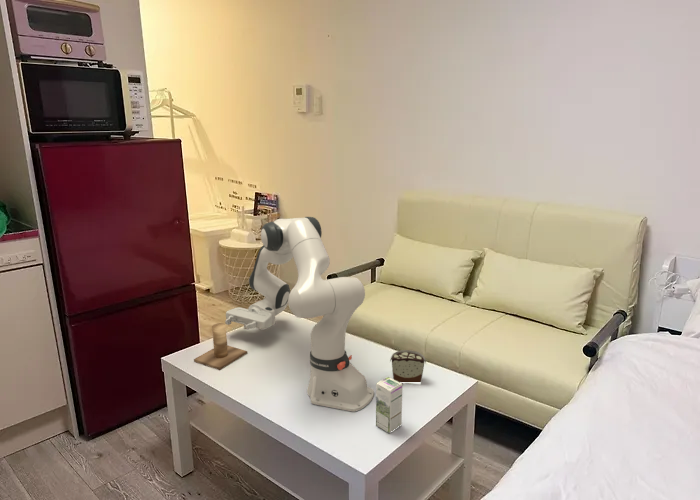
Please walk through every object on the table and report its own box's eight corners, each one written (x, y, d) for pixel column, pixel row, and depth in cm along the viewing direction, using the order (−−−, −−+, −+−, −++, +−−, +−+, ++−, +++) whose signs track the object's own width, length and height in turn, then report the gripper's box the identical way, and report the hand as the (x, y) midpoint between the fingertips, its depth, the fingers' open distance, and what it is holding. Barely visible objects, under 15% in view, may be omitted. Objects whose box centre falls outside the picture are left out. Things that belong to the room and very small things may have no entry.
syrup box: (402, 426, 151) (403, 382, 147) (389, 434, 147) (390, 390, 143) (387, 418, 155) (389, 375, 151) (374, 426, 151) (375, 382, 147)
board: (247, 353, 196) (247, 351, 195) (220, 370, 183) (219, 367, 183) (222, 346, 202) (222, 343, 202) (194, 361, 189) (193, 359, 189)
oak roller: (230, 353, 193) (228, 324, 190) (221, 359, 189) (219, 329, 186) (220, 350, 195) (218, 322, 192) (211, 356, 191) (209, 326, 188)
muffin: (424, 375, 179) (425, 350, 177) (425, 384, 174) (426, 358, 171) (389, 374, 181) (390, 348, 178) (389, 382, 175) (389, 356, 172)
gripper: (238, 301, 213) (215, 312, 202) (277, 310, 204) (255, 323, 192) (239, 315, 215) (216, 327, 203) (278, 325, 205) (256, 338, 194)
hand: (235, 325), depth 198 cm, fingers open, 8 cm apart
